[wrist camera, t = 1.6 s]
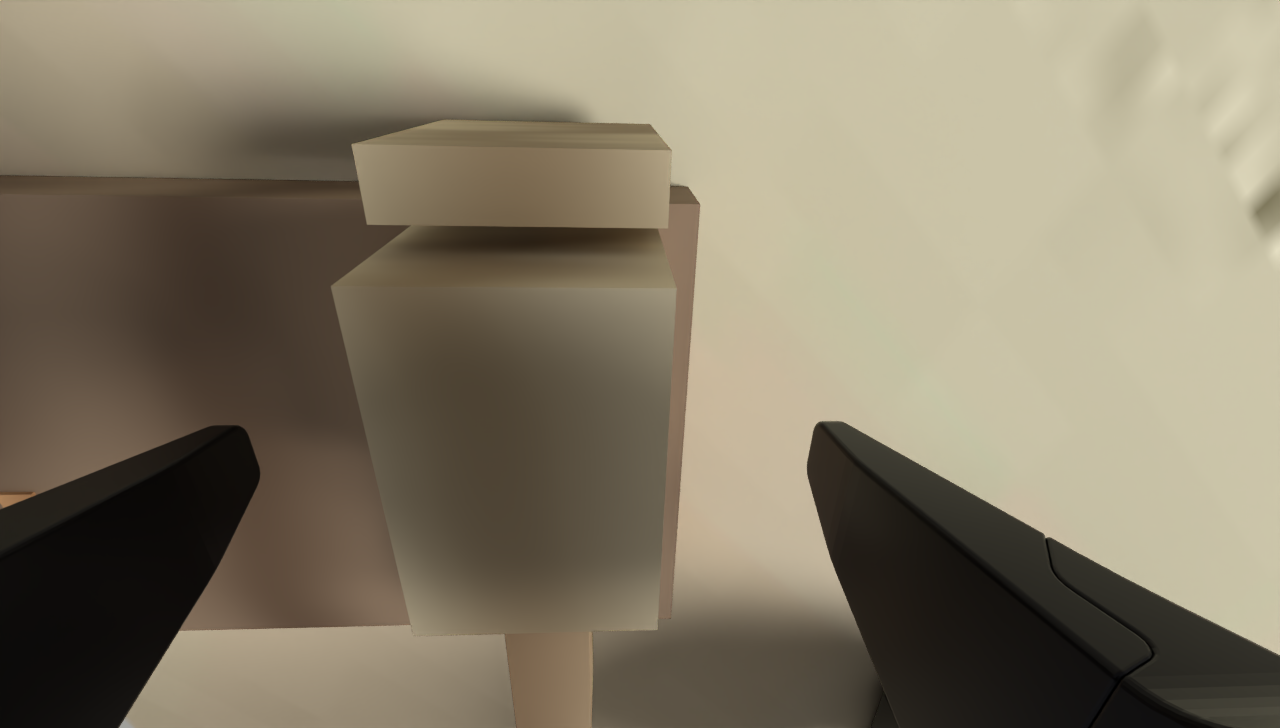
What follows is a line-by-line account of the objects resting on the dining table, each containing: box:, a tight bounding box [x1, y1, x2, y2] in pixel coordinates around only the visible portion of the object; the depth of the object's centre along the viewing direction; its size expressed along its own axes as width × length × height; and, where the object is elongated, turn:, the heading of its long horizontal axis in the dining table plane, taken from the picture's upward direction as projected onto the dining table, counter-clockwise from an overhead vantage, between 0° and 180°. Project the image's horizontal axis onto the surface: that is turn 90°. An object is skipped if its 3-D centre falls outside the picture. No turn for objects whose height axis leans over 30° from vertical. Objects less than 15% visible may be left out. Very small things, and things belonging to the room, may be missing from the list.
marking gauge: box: [331, 120, 677, 728], centre depth 11 cm, size 4×12×6 cm, turn 179°
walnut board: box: [0, 175, 700, 631], centre depth 14 cm, size 20×12×2 cm, turn 89°
